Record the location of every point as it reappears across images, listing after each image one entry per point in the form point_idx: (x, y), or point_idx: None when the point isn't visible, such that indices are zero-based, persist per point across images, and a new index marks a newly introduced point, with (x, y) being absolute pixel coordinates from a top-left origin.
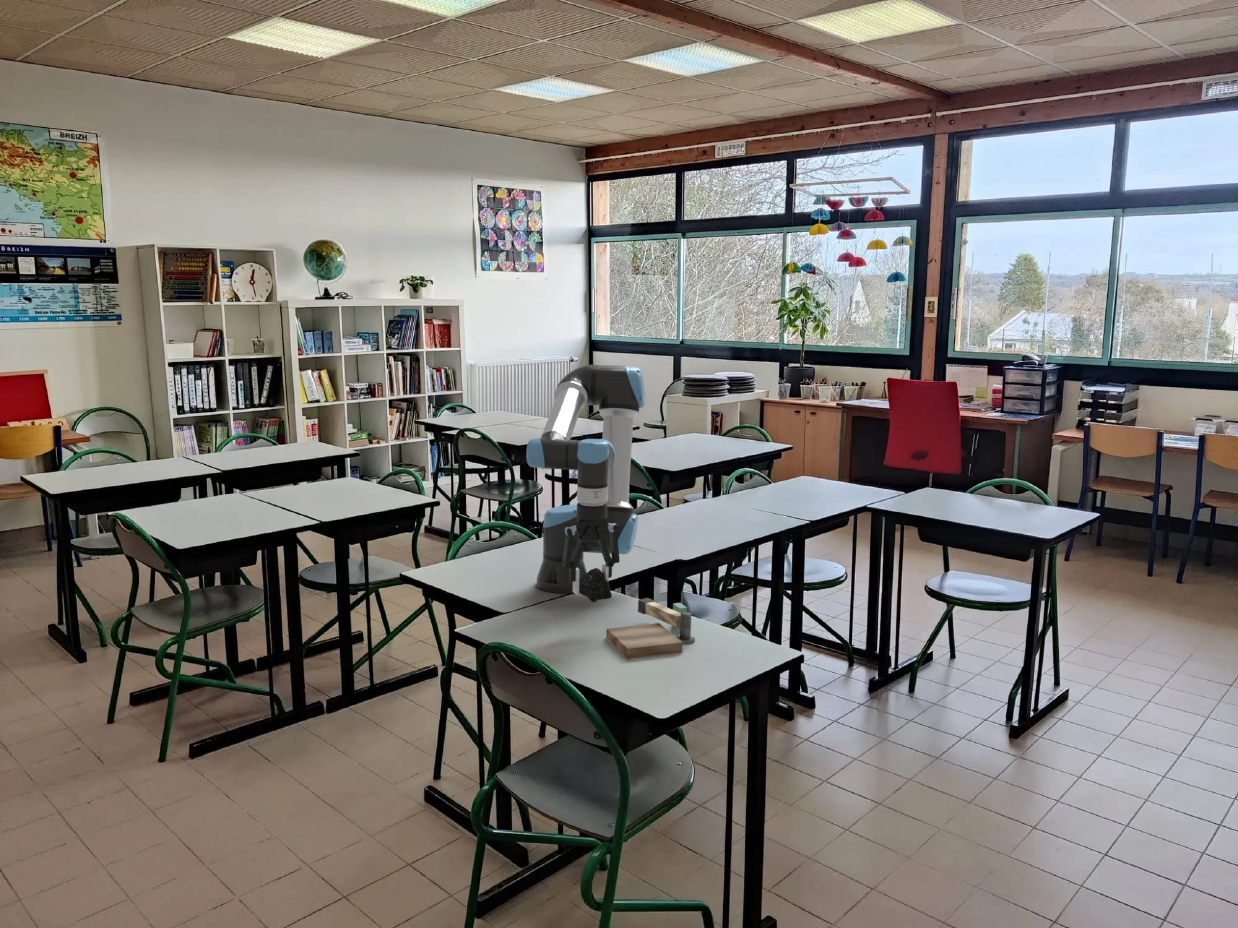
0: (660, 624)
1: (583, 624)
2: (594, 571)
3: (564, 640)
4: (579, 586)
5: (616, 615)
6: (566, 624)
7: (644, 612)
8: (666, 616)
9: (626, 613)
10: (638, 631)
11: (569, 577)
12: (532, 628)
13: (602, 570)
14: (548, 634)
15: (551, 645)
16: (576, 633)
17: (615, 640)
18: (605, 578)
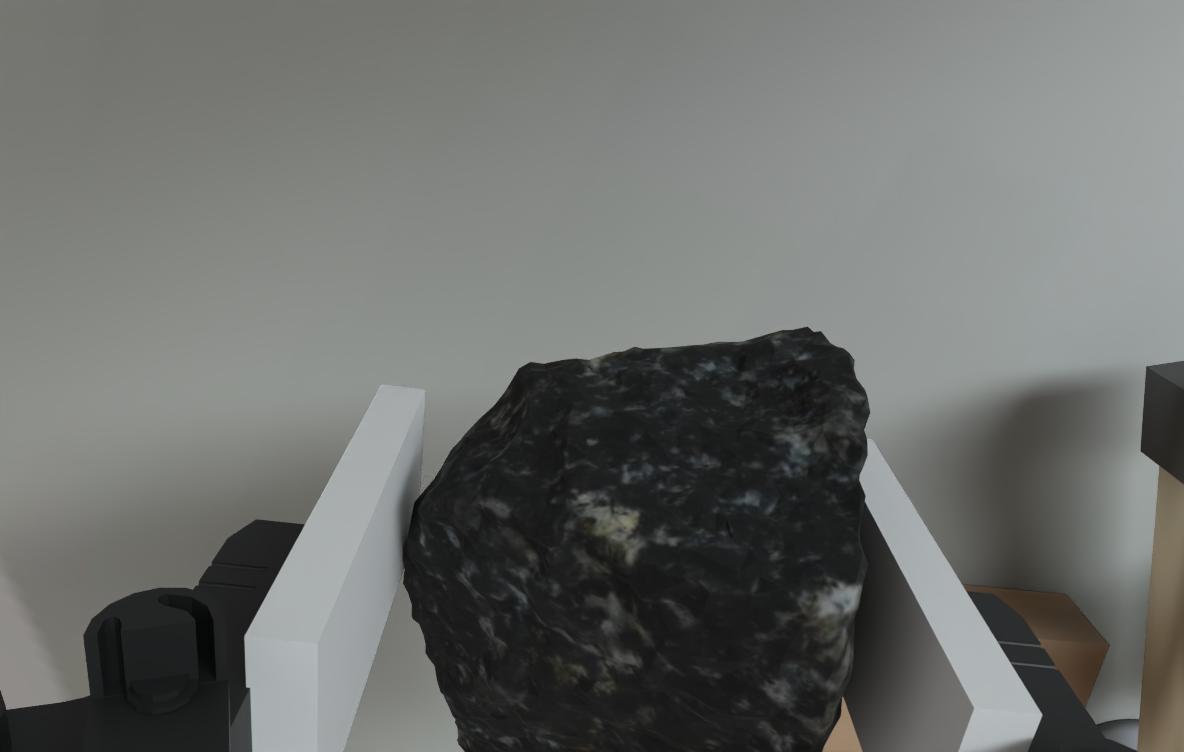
0: (1095, 675)
1: (607, 181)
2: (726, 655)
3: (292, 470)
4: (416, 560)
5: (1045, 69)
6: (451, 113)
7: (1160, 456)
8: (1174, 747)
9: (1174, 54)
10: (834, 734)
11: (223, 552)
12: (87, 83)
13: (916, 636)
14: (199, 295)
15: (157, 523)
16: (447, 367)
17: None
18: (845, 698)
